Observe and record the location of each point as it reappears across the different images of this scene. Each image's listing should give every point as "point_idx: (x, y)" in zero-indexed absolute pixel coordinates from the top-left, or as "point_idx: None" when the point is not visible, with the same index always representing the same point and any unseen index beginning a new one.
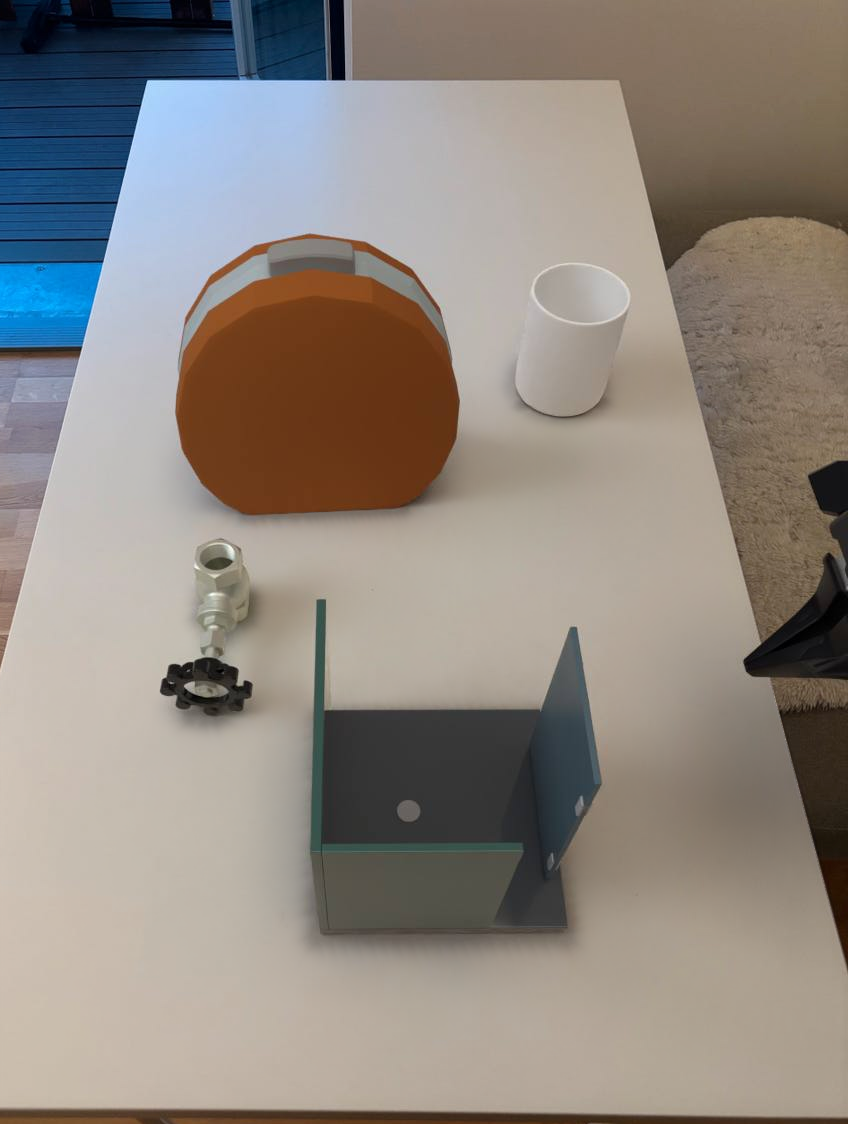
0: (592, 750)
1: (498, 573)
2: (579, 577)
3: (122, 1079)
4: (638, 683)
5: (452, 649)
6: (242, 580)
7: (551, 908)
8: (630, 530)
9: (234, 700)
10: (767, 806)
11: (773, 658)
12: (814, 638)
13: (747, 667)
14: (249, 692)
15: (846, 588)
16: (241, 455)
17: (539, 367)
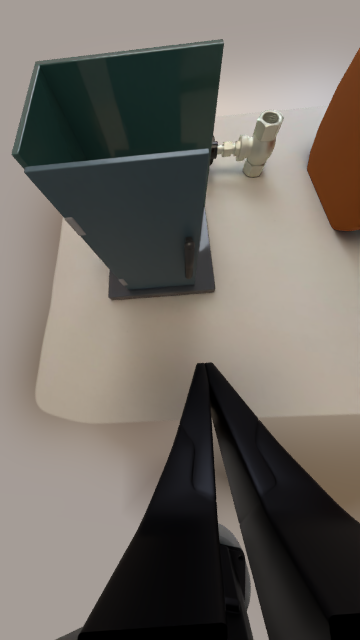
0: (59, 165)
1: (299, 275)
2: (308, 317)
3: None
4: (240, 344)
5: (246, 255)
6: (262, 145)
7: (116, 291)
8: (355, 350)
9: None
10: (172, 405)
11: (199, 390)
12: (210, 469)
13: (200, 364)
14: None
15: None
16: (346, 109)
17: None
